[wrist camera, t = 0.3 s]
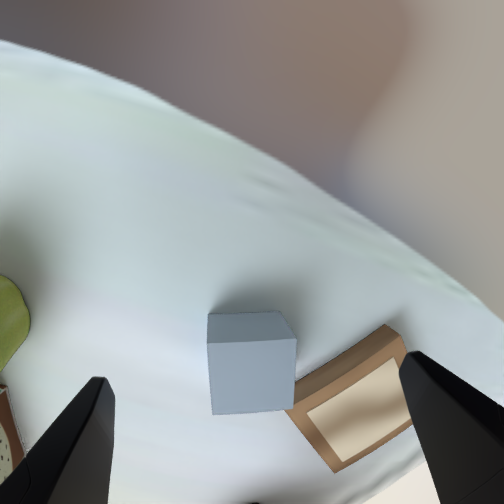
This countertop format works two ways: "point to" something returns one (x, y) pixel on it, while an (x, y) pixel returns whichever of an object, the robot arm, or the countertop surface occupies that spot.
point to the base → (354, 400)
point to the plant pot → (11, 320)
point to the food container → (9, 437)
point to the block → (250, 362)
